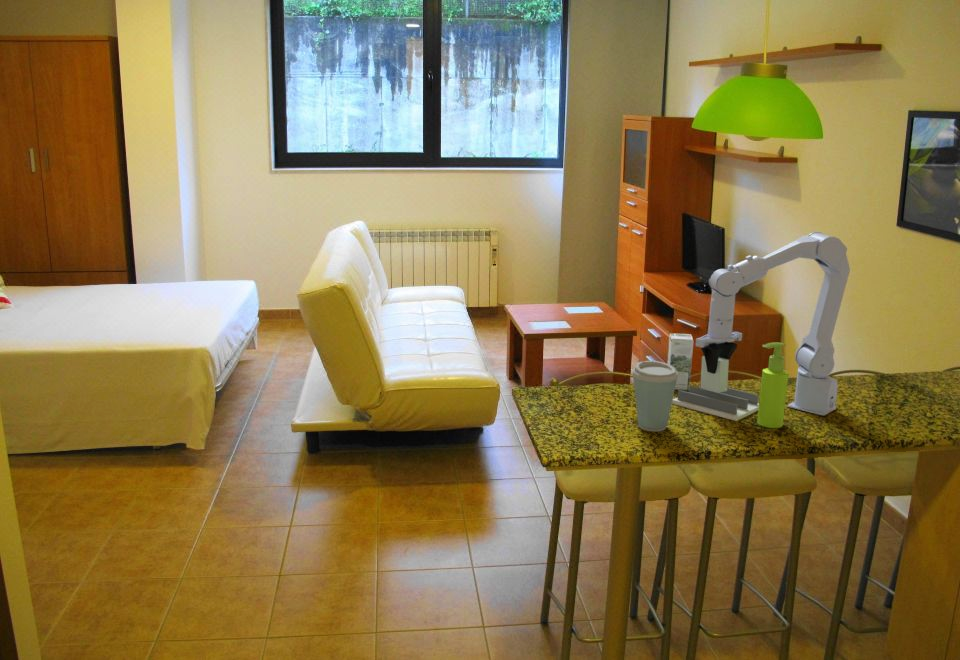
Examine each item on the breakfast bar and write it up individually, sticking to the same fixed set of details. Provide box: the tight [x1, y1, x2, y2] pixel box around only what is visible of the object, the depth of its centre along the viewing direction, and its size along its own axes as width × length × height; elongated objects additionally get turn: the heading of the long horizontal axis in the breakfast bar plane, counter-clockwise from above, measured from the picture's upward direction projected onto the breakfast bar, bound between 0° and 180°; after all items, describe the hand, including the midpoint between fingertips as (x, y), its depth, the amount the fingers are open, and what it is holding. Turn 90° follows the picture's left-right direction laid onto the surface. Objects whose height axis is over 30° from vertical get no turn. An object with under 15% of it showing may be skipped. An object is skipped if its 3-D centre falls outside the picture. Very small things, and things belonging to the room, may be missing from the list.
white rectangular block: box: [699, 355, 730, 393], centre depth 224 cm, size 6×3×8 cm, turn 34°
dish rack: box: [672, 380, 760, 422], centre depth 227 cm, size 18×14×4 cm
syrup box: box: [666, 333, 694, 392], centre depth 239 cm, size 6×6×14 cm
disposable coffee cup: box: [631, 360, 678, 433], centre depth 209 cm, size 11×11×15 cm
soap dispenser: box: [756, 341, 790, 429], centre depth 212 cm, size 6×7×20 cm
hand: (716, 371), depth 223 cm, fingers closed on white rectangular block, 3 cm apart
